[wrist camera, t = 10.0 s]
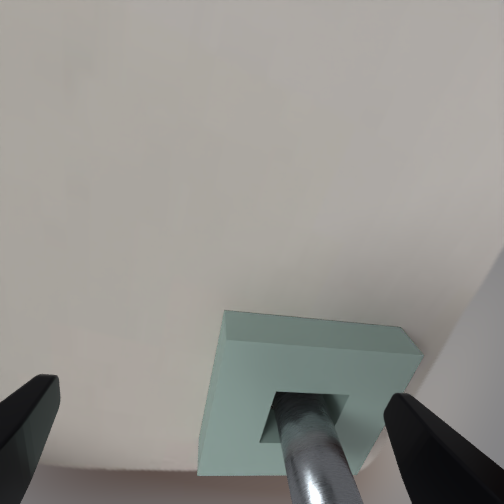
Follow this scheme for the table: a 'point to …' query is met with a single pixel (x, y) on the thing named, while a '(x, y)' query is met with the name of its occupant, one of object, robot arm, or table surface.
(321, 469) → the peg
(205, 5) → the table surface
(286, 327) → the socket block
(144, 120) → the table surface
